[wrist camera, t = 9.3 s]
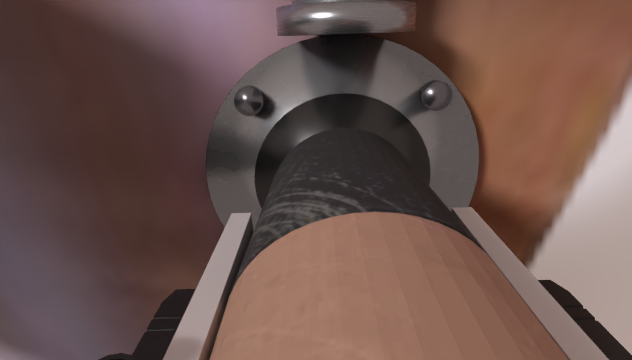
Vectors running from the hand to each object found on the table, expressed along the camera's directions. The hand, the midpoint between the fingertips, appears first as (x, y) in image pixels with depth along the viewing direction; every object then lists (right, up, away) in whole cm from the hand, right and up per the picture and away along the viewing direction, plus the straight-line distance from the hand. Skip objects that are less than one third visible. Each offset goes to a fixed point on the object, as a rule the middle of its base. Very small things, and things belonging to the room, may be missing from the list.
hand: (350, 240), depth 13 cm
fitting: (0, +6, +5) cm, 8 cm away
